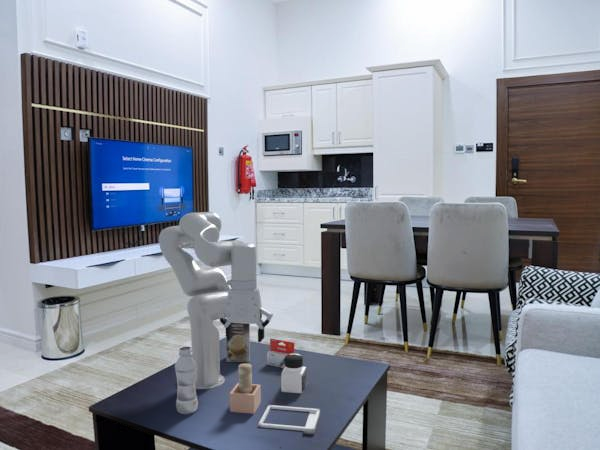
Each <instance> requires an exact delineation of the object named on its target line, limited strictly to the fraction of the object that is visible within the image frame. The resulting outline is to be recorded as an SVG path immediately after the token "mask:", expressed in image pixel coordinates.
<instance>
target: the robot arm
mask: <svg viewBox="0 0 600 450" xmlns="http://www.w3.org/2000/svg"><path fill="white" fill-rule="evenodd" d="M221 229H222V220H221V218H220V216H219V215H218V214H217V213H215V212H213V211H202V212H189V213H186V214H183V216H182V217H181V218H180V219H179V223H178V225H173V226H168V227H166V228H163V229H162V230H161V231H160V233H159V236H158V244H159V249H160V253H161V254H162V256H163V257H164V258H165V260H166V262H167V263H168V264H169V266H170V267H171V268H172V271H174V274H175V277H176V278H177V281H178V283H179V285H180V288H181V289H182V291H183V294H185V295H186V296H187V297H191V298H190V299H189V300H188V302H187V313H188V318H189V325H190V338H191V339H190V341H191V342H190V343H191V344H190V345H191V348H192V355H191V356H192V357H193V358H194V360H195V361H196V364H197V368H196V380H195V387H196V390H210V389H214V388H218V387H220V386H221V385H224V383H225V381H226V378H225V377H224V376H223V375H222V374H221V360H220V359H221V358H220V357H221V354H220V353H221V352H220V332H219V330H218V328H217V327H216V326H215V324H214V323H213V322H214V321H217V320H219V322H220V323H221V324H222V325H223V326H224V328H225V337H226V342H227V341H229V340H231V339H232V337H233V331H232V325H231V323H243V324H250V325H254V324H255V325H256V326H257V327H258V329H257V342H258V343H261V342H262V341H263V340H264V339H265V327H267V326H268V324H269V323H270V322H271V321H272V318H273V316H274V314H273V312H271V311H268V310H267V309H265V308H263V307H262V306H263V305H262V299H261V293H260V289H259V288H258V287H257V286H258V284H257V279H258V278H257V248H256V247H257V246H256V245H255V244H254V243H247V242H244V241H242V240H237V239H236V240H226V241H224V240H223V241H219V239H220V235H221V234H220V232H221ZM189 248H190V249H191V248H194V253H195V256H196V257H197V259H198V260H199V261H200V262H201V263H203V264H204V265H206V266H208V267H200V266H199V264H198V262H197V260H196V259H195V258H194V256H193V255H191V254H190V253H189V252H187V251H185V250H184V249H189ZM226 266H230V268H231V269H230V273H231V274H230V275H231V276H230V277H231V278H230V280H228V279H227V276H226V274H225V273H224V272H223V270H221V269H220V268H218V267H226ZM263 315H264V316H265V317H266V319H265V320H264V321H263V319H262V317H263Z"/></svg>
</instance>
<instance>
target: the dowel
mask: <svg viewBox="0 0 600 450" xmlns="http://www.w3.org/2000/svg"><path fill="white" fill-rule="evenodd" d="M237 366H238V383H239V393H247V394H252V384H253V372H252V370H253V369H252V368H253V367H252V364H251V363H248V362H244V363H240V364H238V365H237Z"/></svg>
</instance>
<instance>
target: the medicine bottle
mask: <svg viewBox="0 0 600 450" xmlns="http://www.w3.org/2000/svg"><path fill="white" fill-rule="evenodd" d="M280 375H281V376H280V377H281V379H280V381H281V382H280V383H281V384H280V385H281V386H280V388H281V389H280V390H281V391H280V392H283V393H292V394H293V393H295V394H303V393H304V391H305V388H306V386H307V367H306V366H304V357H303V355H301V354H299V353H294V354H289V355H286V356H285V368H283V369H282V371H281V373H280Z"/></svg>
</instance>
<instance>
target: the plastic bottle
mask: <svg viewBox="0 0 600 450" xmlns="http://www.w3.org/2000/svg"><path fill="white" fill-rule="evenodd" d="M178 356H179V357H178V358H177V360H176V361H175V364H174V370H175V377H176V383H177V384H176V385H177V386H176V387H177V390H176V391H177V393H176V395H177V396H176V400H175V408H176V411H177V413H179V414H180V415H191V414H193V413H195V412H196V411H197V410H198V408H199V400H198V395H197V389H196V387H195V380H196V368H197V364H196V361H195V360H194V358H193V357H192V346H181V347H179V352H178Z"/></svg>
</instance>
